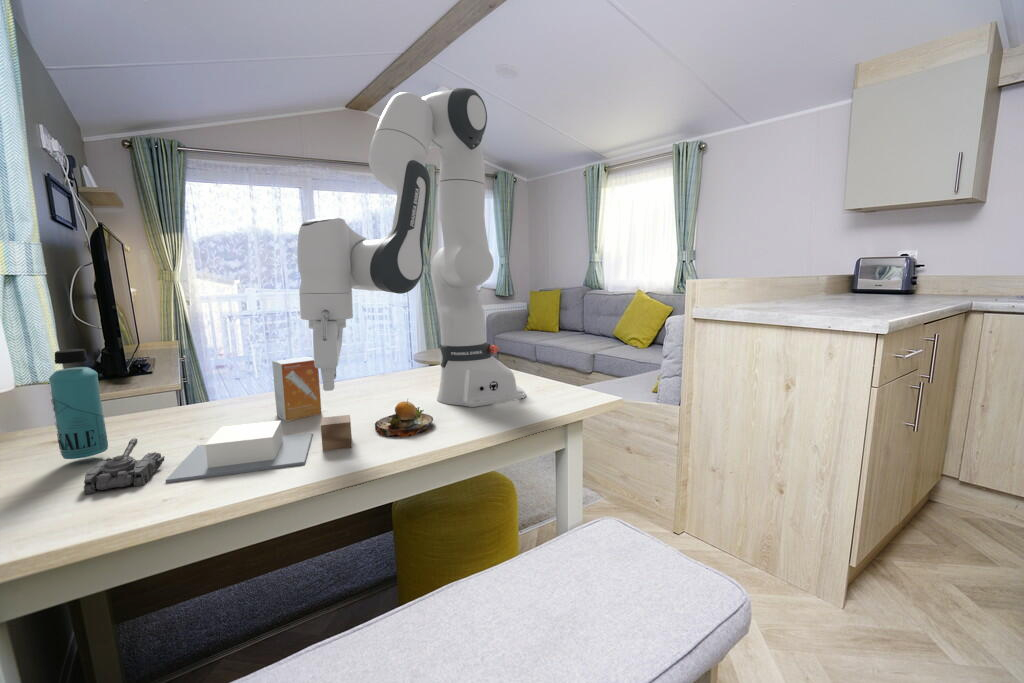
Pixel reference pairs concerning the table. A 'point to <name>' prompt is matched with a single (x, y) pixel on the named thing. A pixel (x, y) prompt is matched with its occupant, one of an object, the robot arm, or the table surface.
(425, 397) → the table surface
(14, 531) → the table surface
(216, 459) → the white plinth
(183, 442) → the table surface
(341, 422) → the walnut block
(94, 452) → the beverage bottle
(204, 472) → the plain slate board
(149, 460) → the tank toy
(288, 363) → the small box
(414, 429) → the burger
